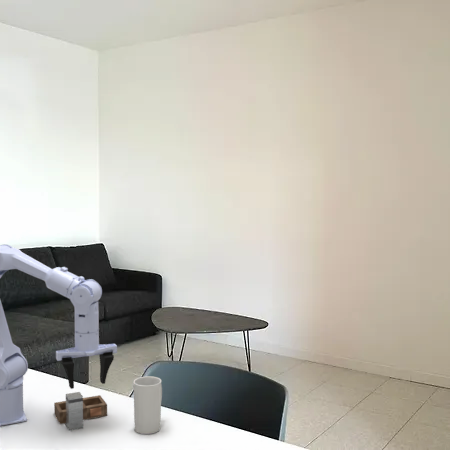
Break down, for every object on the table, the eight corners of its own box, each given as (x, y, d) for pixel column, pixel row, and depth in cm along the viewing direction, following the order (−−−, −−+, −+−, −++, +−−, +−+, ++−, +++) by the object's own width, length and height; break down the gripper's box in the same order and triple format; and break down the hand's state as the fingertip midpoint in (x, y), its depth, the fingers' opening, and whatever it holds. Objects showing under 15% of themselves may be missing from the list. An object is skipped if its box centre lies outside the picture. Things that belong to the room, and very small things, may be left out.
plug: (68, 430, 137) (68, 398, 136) (66, 425, 140) (65, 393, 140) (83, 428, 139) (82, 396, 138) (79, 422, 142) (79, 391, 141)
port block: (59, 424, 140) (59, 412, 140) (54, 413, 147) (54, 402, 147) (107, 416, 146) (107, 404, 146) (100, 406, 152) (100, 395, 152)
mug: (152, 437, 134) (152, 387, 133) (128, 431, 137) (127, 383, 136) (172, 421, 143) (172, 374, 142) (150, 416, 146) (149, 370, 145)
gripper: (59, 338, 131) (60, 395, 132) (120, 331, 138) (120, 385, 139) (53, 330, 137) (54, 385, 138) (112, 324, 144) (112, 376, 145)
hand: (87, 384), depth 139 cm, fingers open, 7 cm apart
